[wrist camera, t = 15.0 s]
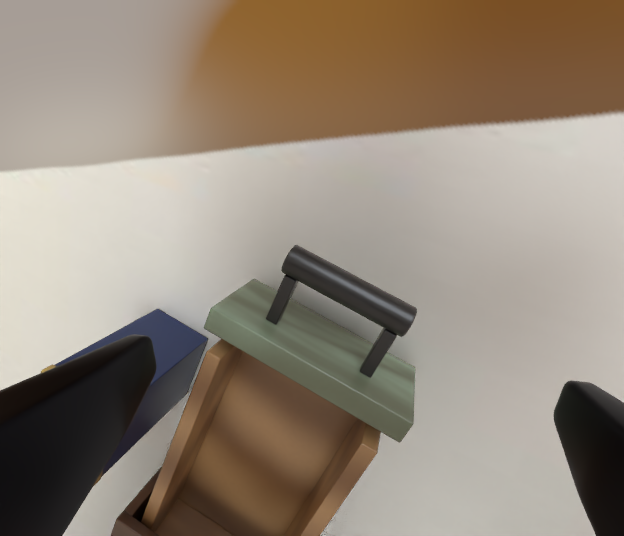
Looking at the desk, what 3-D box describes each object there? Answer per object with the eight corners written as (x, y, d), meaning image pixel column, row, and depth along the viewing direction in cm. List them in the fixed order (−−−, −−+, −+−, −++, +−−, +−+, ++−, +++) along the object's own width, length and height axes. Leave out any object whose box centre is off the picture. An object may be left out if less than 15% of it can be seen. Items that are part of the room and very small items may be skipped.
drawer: (279, 216, 19) (239, 230, 15) (455, 307, 18) (465, 352, 14) (169, 483, 27) (123, 542, 23) (286, 560, 26) (259, 638, 22)
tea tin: (209, 338, 24) (112, 417, 16) (187, 394, 25) (91, 489, 18) (157, 307, 24) (40, 370, 17) (139, 365, 26) (26, 444, 19)
